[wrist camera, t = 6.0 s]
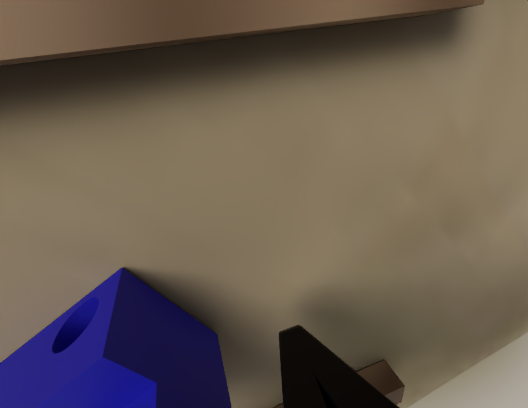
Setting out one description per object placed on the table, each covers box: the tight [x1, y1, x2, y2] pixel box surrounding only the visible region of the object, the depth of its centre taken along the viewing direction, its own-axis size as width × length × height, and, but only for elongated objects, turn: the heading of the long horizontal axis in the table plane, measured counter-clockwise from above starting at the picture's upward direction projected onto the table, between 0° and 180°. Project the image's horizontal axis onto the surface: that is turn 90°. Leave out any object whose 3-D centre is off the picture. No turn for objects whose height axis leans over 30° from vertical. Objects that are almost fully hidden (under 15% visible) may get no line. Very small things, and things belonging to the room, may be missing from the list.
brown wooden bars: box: [0, 0, 484, 408], centre depth 10 cm, size 13×19×2 cm
